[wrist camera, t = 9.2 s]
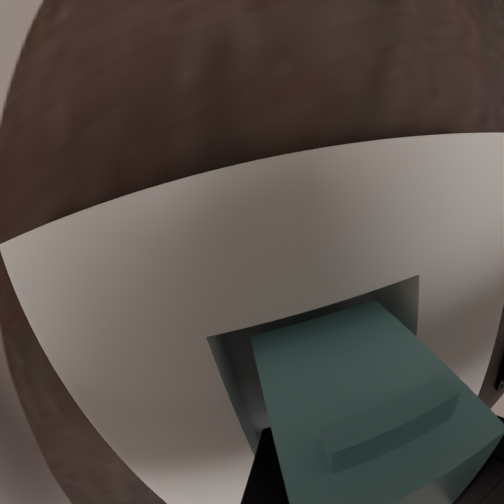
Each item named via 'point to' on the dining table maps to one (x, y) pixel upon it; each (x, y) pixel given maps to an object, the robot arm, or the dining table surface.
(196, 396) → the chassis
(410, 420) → the servo
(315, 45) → the dining table surface
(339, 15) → the dining table surface
